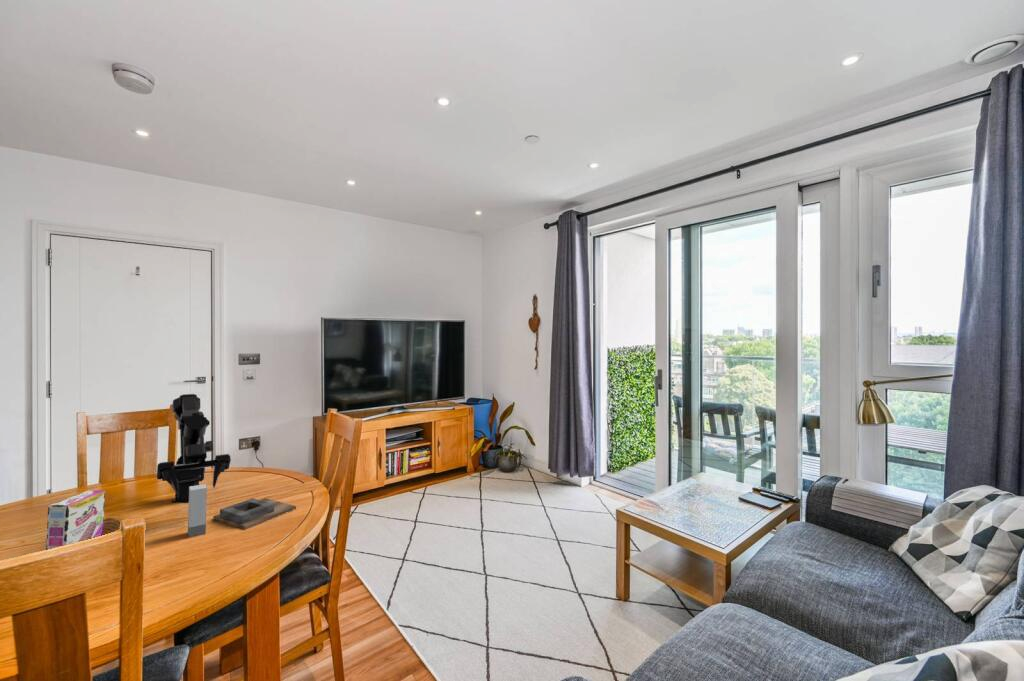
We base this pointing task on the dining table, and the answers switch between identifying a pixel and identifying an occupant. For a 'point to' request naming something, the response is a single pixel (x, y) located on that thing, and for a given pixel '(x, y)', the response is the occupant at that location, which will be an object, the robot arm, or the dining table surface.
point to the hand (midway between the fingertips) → (196, 489)
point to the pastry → (110, 525)
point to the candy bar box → (75, 519)
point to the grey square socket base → (252, 512)
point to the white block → (197, 510)
